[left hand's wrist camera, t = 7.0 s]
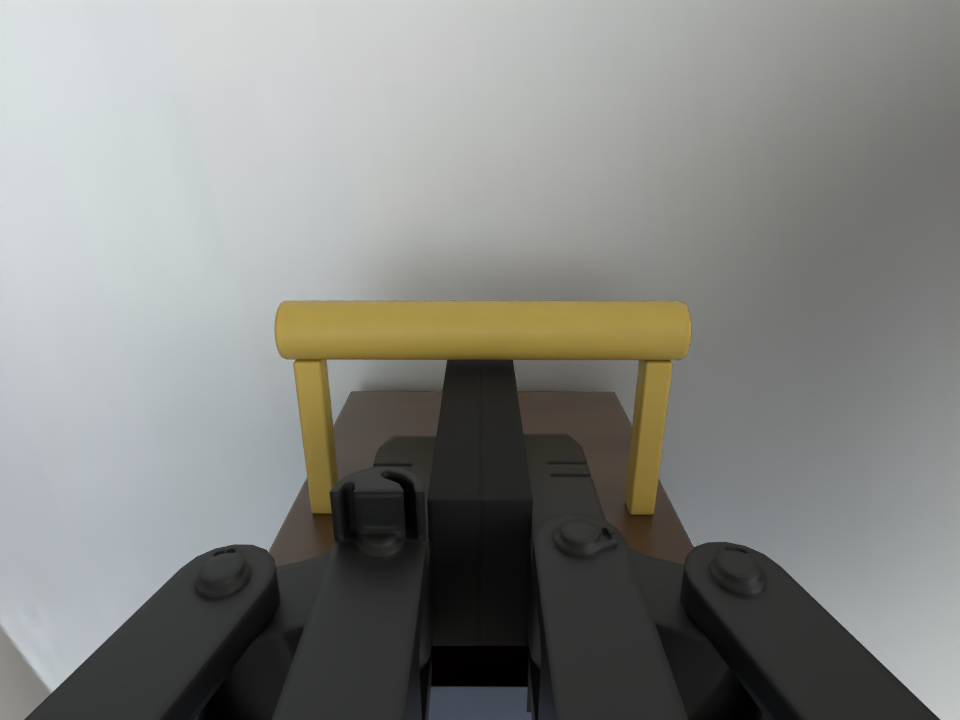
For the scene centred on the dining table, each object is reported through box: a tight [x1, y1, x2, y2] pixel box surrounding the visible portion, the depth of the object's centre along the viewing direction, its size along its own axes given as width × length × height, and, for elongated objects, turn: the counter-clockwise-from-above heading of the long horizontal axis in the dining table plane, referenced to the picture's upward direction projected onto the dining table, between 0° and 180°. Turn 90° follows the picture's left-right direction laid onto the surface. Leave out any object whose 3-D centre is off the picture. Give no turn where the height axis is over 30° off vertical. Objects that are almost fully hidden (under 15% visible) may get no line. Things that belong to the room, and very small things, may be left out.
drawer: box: [269, 301, 694, 687], centre depth 19 cm, size 22×10×10 cm, turn 0°
